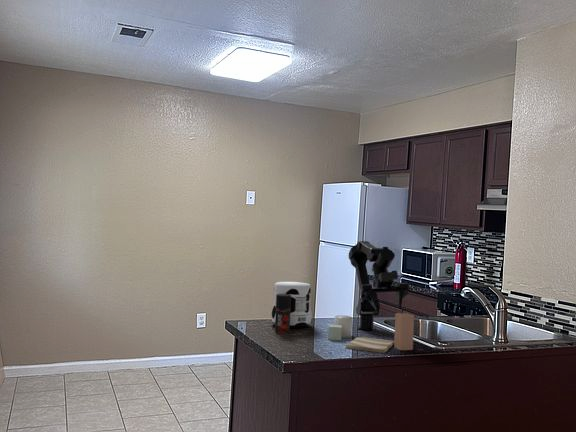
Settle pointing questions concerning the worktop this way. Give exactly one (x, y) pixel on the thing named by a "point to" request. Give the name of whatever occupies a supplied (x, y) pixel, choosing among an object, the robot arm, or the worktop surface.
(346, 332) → the pale grey cylinder
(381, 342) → the board
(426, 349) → the worktop surface
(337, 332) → the block
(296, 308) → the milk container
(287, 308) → the deodorant
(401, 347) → the tan rectangular block
